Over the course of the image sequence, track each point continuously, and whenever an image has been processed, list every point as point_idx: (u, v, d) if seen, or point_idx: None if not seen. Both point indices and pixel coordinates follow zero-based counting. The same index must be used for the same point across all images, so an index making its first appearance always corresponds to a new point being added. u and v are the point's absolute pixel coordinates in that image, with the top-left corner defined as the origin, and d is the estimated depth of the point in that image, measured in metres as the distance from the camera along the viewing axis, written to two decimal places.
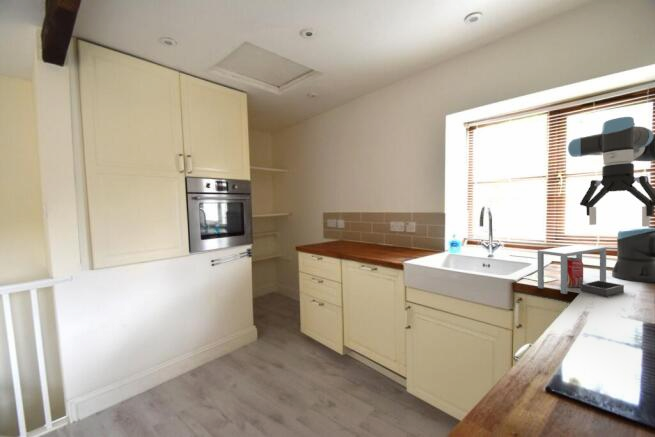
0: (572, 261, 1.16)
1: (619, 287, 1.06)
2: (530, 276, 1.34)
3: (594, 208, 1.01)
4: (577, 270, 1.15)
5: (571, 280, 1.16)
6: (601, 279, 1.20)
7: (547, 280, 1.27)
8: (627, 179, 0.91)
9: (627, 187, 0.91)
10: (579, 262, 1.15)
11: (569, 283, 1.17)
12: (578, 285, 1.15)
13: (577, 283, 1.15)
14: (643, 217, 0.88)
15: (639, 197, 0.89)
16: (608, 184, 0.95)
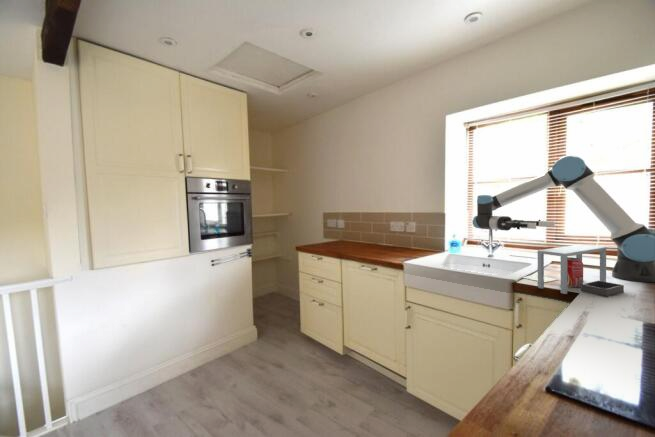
0: (572, 261, 1.16)
1: (619, 287, 1.06)
2: (530, 276, 1.34)
3: (539, 223, 1.35)
4: (577, 270, 1.15)
5: (571, 280, 1.16)
6: (601, 279, 1.20)
7: (547, 280, 1.27)
8: None
9: None
10: (579, 262, 1.15)
11: (569, 283, 1.17)
12: (578, 285, 1.15)
13: (577, 283, 1.15)
14: None
15: None
16: None
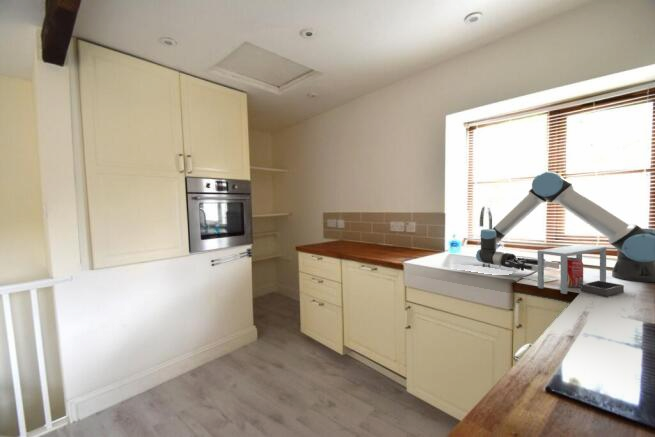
0: (572, 261, 1.16)
1: (619, 287, 1.06)
2: (530, 276, 1.34)
3: (544, 262, 1.34)
4: (577, 270, 1.15)
5: (571, 280, 1.16)
6: (601, 279, 1.20)
7: (547, 280, 1.27)
8: None
9: None
10: (579, 262, 1.15)
11: (569, 283, 1.17)
12: (578, 285, 1.15)
13: (577, 283, 1.15)
14: None
15: None
16: None
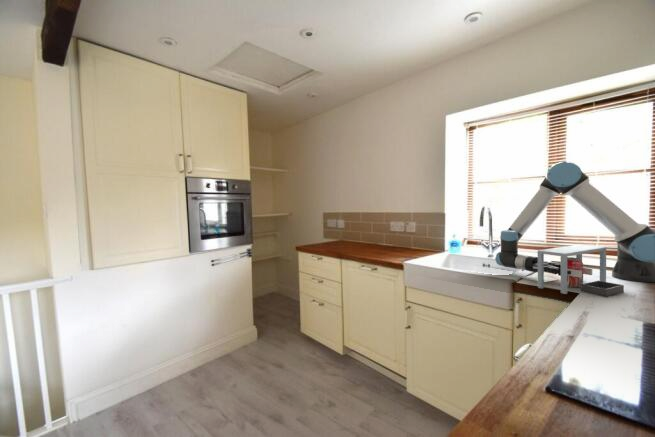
0: (572, 261, 1.16)
1: (619, 287, 1.06)
2: (530, 276, 1.34)
3: None
4: None
5: (570, 280, 1.16)
6: (601, 279, 1.20)
7: (547, 280, 1.27)
8: None
9: None
10: (579, 262, 1.15)
11: (569, 282, 1.17)
12: (578, 285, 1.15)
13: (576, 283, 1.15)
14: None
15: (553, 272, 1.22)
16: None
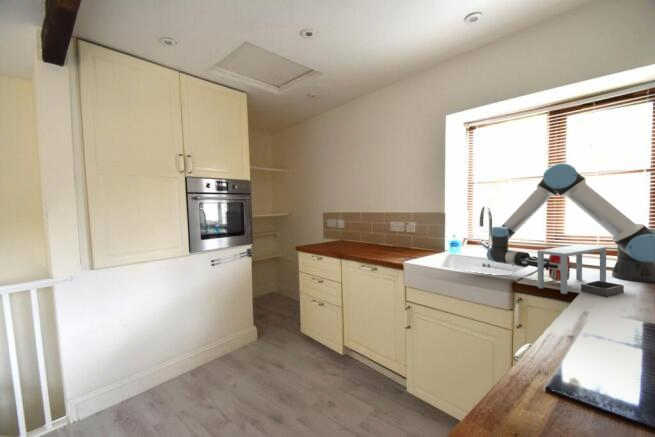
0: (559, 256, 1.20)
1: (619, 287, 1.06)
2: (530, 276, 1.34)
3: None
4: None
5: (557, 274, 1.20)
6: (601, 279, 1.20)
7: (547, 280, 1.27)
8: None
9: None
10: None
11: (556, 276, 1.21)
12: None
13: None
14: (559, 269, 1.19)
15: None
16: None
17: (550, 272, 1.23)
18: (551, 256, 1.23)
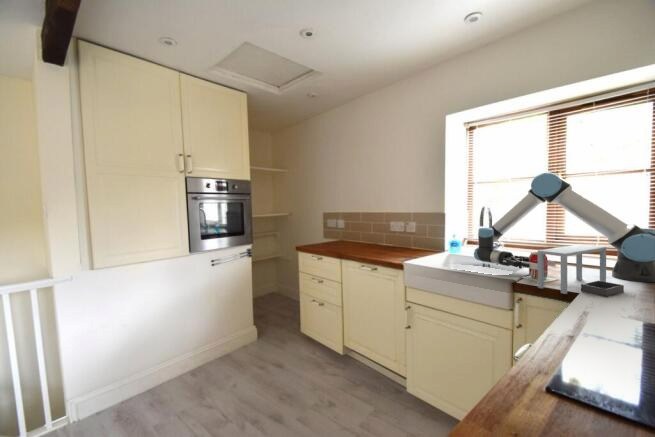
0: (537, 255, 1.28)
1: (619, 287, 1.06)
2: None
3: None
4: None
5: (536, 273, 1.29)
6: (601, 279, 1.20)
7: (547, 280, 1.27)
8: None
9: None
10: None
11: (535, 275, 1.29)
12: None
13: None
14: None
15: None
16: None
17: (530, 271, 1.32)
18: (530, 256, 1.31)
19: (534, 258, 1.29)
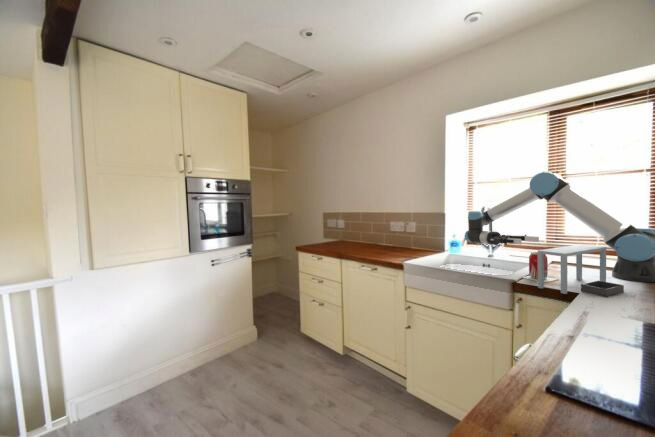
0: (537, 255, 1.28)
1: (619, 287, 1.06)
2: None
3: (525, 238, 1.45)
4: None
5: (536, 273, 1.29)
6: (601, 279, 1.20)
7: (547, 280, 1.27)
8: None
9: None
10: None
11: (535, 275, 1.29)
12: None
13: None
14: (515, 243, 1.38)
15: None
16: None
17: (530, 271, 1.32)
18: (530, 256, 1.31)
19: (534, 258, 1.29)
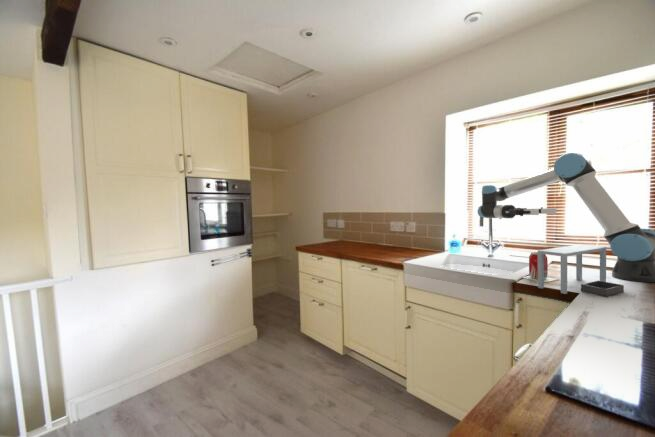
0: (537, 255, 1.28)
1: (619, 287, 1.06)
2: None
3: (542, 210, 1.42)
4: None
5: (536, 273, 1.29)
6: (601, 279, 1.20)
7: (547, 280, 1.27)
8: None
9: None
10: None
11: (535, 275, 1.29)
12: None
13: None
14: (531, 214, 1.35)
15: None
16: None
17: (530, 271, 1.32)
18: (530, 256, 1.31)
19: (534, 258, 1.29)
